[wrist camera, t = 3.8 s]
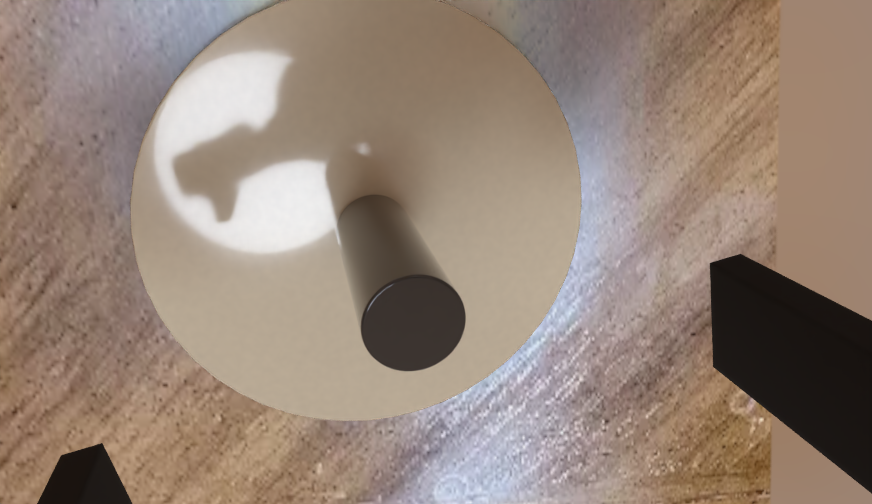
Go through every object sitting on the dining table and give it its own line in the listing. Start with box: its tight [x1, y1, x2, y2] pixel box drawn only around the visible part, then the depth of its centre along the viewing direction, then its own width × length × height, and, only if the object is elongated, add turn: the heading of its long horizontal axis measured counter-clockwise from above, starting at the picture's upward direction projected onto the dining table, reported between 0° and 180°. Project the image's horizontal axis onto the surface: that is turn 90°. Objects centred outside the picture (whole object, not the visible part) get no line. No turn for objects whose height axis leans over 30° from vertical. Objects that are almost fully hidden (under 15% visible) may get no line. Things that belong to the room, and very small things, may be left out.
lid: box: [130, 0, 581, 421], centre depth 21 cm, size 17×17×9 cm
